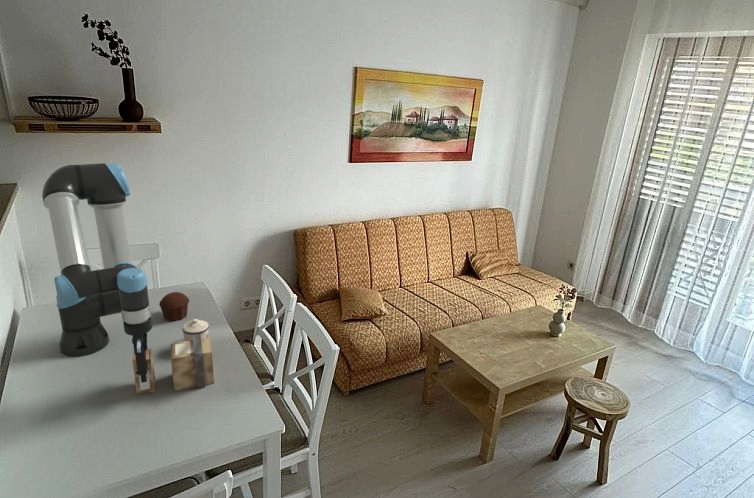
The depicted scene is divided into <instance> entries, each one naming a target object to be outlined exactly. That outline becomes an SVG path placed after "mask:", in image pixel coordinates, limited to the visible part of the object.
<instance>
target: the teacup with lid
mask: <svg viewBox="0 0 754 498" xmlns="http://www.w3.org/2000/svg"><path fill="white" fill-rule="evenodd" d="M209 328H210V324H209V322H207V321H206V320H202V319H198V318H194V319H192V320H191V321H188V322H186V323H184V324H183V326H182V329H181V330H182V334H183V342H184V341H191V340H193V335H198V334H200V336H201V339H205V338H210V329H209Z"/></svg>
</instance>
